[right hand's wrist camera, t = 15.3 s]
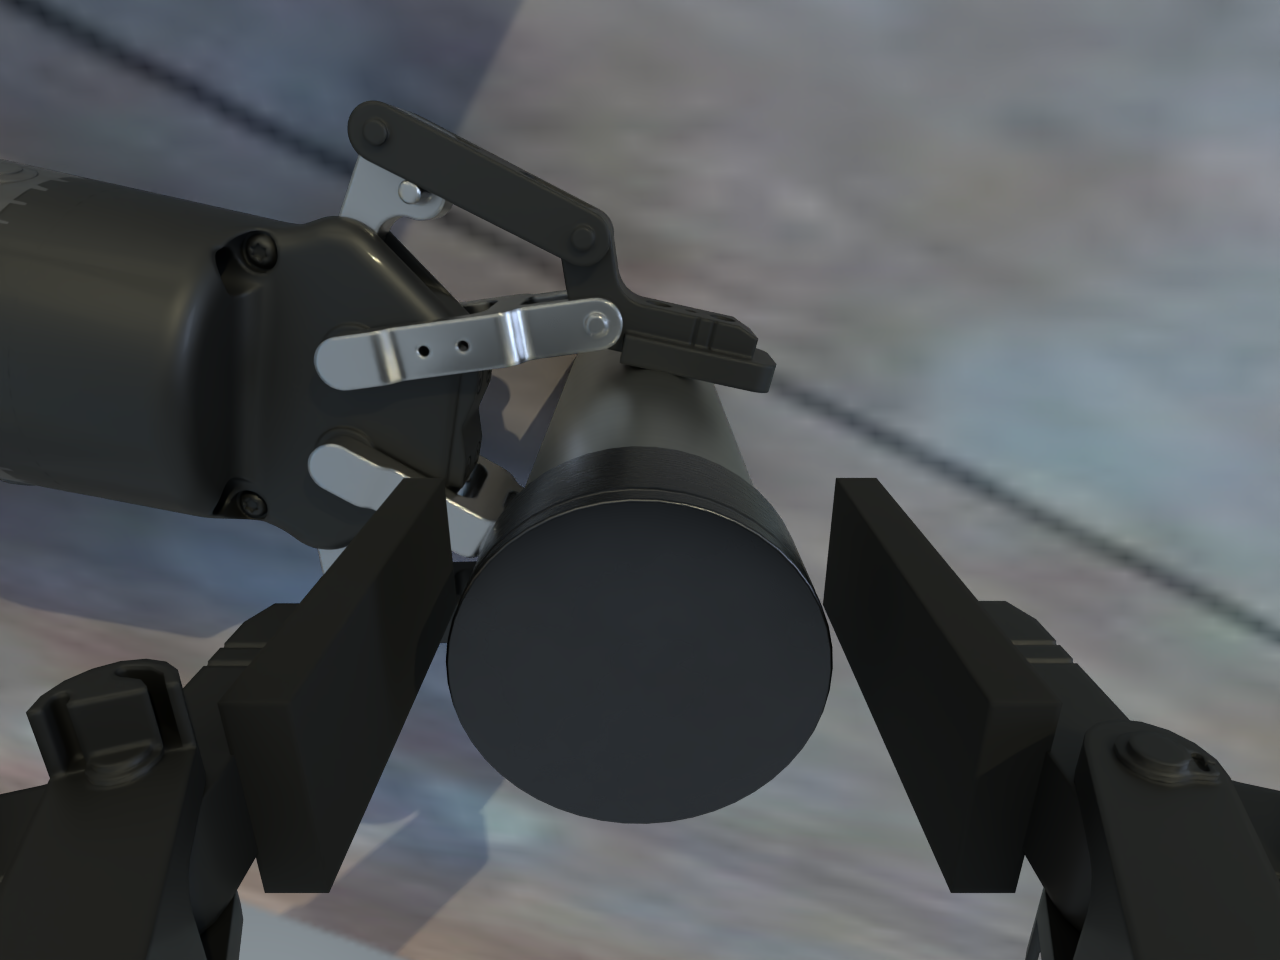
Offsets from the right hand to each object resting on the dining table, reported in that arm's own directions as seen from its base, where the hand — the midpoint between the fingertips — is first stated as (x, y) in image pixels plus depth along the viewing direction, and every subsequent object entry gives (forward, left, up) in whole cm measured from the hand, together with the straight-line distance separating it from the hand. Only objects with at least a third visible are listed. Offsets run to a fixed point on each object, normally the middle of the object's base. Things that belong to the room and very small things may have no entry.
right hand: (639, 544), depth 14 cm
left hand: (-1, -2, -6) cm, 6 cm away
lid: (0, 0, +4) cm, 4 cm away
